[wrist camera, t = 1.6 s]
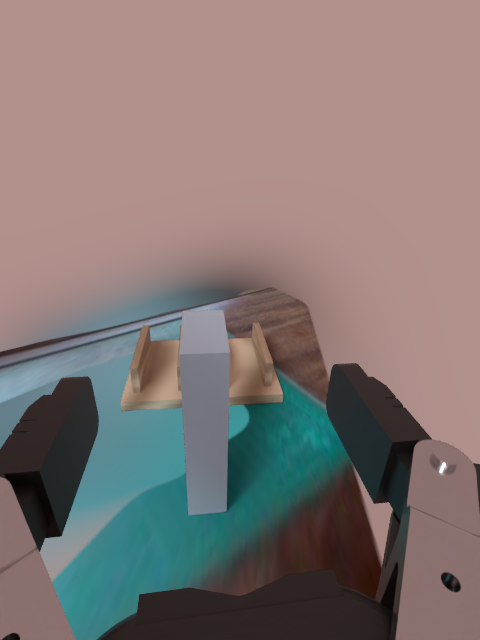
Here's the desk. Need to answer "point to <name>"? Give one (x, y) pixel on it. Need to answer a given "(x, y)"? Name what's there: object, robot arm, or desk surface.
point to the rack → (165, 382)
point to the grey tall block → (205, 408)
